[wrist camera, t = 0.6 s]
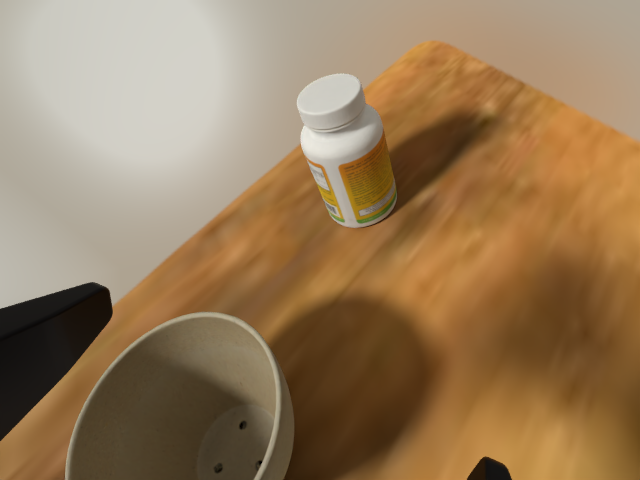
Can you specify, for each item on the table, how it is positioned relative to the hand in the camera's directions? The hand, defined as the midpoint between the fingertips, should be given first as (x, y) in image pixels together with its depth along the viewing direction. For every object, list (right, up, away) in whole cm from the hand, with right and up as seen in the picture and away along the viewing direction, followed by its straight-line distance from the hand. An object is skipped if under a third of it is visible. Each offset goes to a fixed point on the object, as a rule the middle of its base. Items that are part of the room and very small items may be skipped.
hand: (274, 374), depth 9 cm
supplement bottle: (+4, +6, +23) cm, 24 cm away
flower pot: (-3, -9, +14) cm, 17 cm away
